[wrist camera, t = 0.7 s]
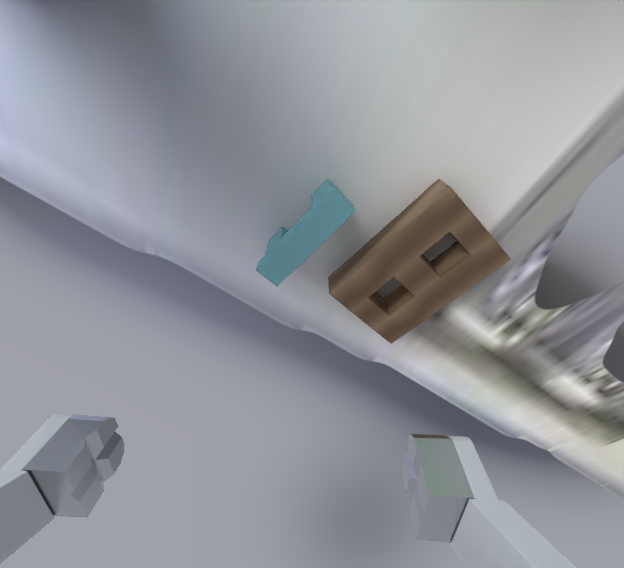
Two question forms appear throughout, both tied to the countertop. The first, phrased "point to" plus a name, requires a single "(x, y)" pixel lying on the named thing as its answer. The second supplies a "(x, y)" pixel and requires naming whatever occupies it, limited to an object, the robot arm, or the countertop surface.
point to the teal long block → (305, 233)
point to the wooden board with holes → (417, 264)
